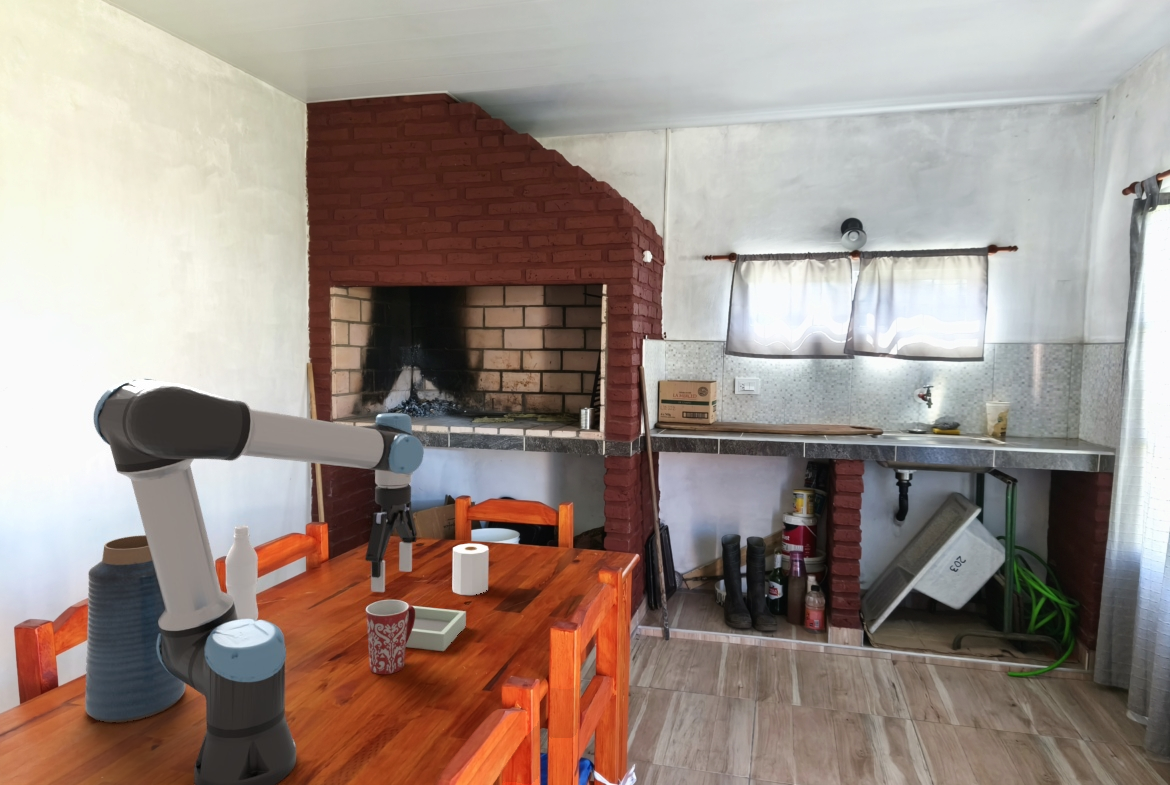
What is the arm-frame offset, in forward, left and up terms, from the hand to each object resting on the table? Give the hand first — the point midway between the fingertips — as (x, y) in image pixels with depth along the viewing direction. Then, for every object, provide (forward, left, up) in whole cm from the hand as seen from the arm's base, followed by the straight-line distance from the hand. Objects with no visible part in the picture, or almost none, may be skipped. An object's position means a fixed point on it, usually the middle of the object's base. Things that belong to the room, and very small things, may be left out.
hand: (392, 580), depth 155 cm
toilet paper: (+49, -1, -19) cm, 52 cm away
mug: (0, -1, -19) cm, 19 cm away
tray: (+16, 0, -19) cm, 24 cm away
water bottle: (+9, +43, -19) cm, 48 cm away
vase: (-27, +39, -19) cm, 52 cm away
